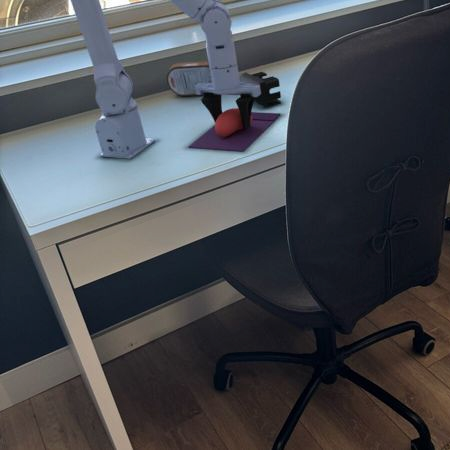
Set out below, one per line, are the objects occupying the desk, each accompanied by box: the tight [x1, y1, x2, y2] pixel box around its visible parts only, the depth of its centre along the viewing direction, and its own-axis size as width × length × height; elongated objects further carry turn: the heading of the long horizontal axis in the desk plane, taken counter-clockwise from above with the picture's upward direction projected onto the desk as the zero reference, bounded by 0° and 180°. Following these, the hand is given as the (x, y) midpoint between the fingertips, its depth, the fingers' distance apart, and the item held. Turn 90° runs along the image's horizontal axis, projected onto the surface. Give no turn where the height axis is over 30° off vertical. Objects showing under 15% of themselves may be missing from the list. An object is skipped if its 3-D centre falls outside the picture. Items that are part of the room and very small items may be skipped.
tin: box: [165, 60, 212, 97], centre depth 147 cm, size 15×3×8 cm, turn 84°
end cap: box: [239, 71, 282, 109], centre depth 137 cm, size 10×7×7 cm
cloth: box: [188, 111, 282, 153], centre depth 125 cm, size 20×13×1 cm, turn 159°
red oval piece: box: [214, 107, 252, 137], centre depth 123 cm, size 5×9×6 cm, turn 126°
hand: (233, 126), depth 124 cm, fingers closed on red oval piece, 6 cm apart
